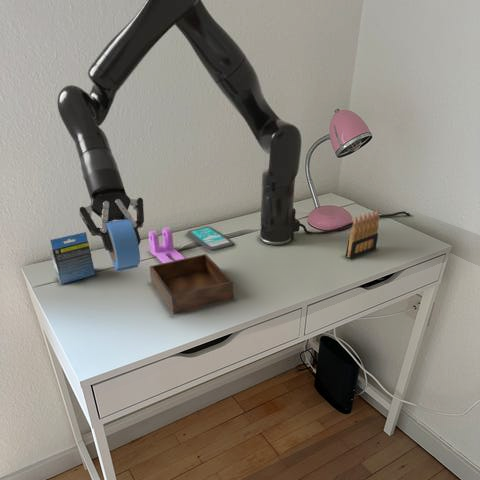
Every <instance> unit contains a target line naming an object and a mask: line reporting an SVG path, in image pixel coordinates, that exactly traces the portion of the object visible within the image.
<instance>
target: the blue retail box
mask: <svg viewBox="0 0 480 480" xmlns="http://www.w3.org/2000/svg"><path fill="white" fill-rule="evenodd" d="M69 240H70V242H68V241H69ZM72 240H74V241H72ZM65 242H66V243H65ZM50 245H51V248H52V249H50V255H51V259H52V263H53V267H54V270H55V275H56V278H57V280H58V282H59V283H60V284H61V285H65V284H68V283H71V282H75V281H78V280H81V279H85V278H87V277H90V276H94V275H96V272H95V267H94V261H93V258H92V253H91V248H90V243H89V240H88V235H87V232H86V231H84V232H80V233H76V234H70V235H67V236H63V237H57V238H52V239H50Z"/></svg>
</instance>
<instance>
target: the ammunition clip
mask: <svg viewBox="0 0 480 480" xmlns="http://www.w3.org/2000/svg"><path fill="white" fill-rule="evenodd" d="M379 215H380V209H377V210H376V212H375V210H373V211H372V213H371V212H368V213H367V214H366V213H364V215H363V216H362V215H361V214H360V215H359V217H357V216H355V217H354V218H353V221H352V222H353V225H351V226H352V227H351V229H350V236H349V239H348V240H347V246H346V251H345V258H347V259H349V260H353V259H356V258H358V257H361V256H363V255H365V254H368V253H370V252H374V251H376V250H377V244H378V237H379V233H378V232H379V231H378V230H379V224H380V223H379V221H380V217H379ZM366 217H367V218H366ZM357 220H358V222H357Z"/></svg>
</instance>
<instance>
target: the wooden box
mask: <svg viewBox="0 0 480 480" xmlns="http://www.w3.org/2000/svg"><path fill="white" fill-rule="evenodd" d="M184 258H185V259H181V260H172V261H171V262H167V263H163V262H162V263H159V264H153V265H149V274H150V282H151V284H152V285H153V287H154V288H155V289H156V291H157V293H158V294H159V296H160V297H161V298H162V300H163V302H164V303H165V304H166V306H168V309H169V310H170V311H171V313H172V314H173V315H176V314H179V313H183V312H186V311H191V310H194V309H199V308H202V307H205V306H209V305H213V304H218V303H221V302H225V301H229V300H231V299H234V281H233V280H232V279H231V278H230V277H229V276H228V275H227V274H226V273H225V272H224V271H223V269H221V267H219V266H218V265H217V263H215V262H214V260H212V259H211V258H210V256H209V255H208V254H207V253H203V254H199V255H195V256H190V257H184Z"/></svg>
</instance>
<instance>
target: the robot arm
mask: <svg viewBox="0 0 480 480" xmlns="http://www.w3.org/2000/svg"><path fill="white" fill-rule="evenodd" d="M174 26H175V27H176V28H177V29H178V30H179V32H181V34H182V35H183V36H184V38H185V39H186V40H187V41H188V43H189V45H190V46H191V48H192V50H193V52H194V53H195V55H196V57H197V58H198V60H199V62H200V63H201V64H202V65H203V68H204V69H205V70H206V72H207V73H208V75H209V76H210V78H211V80H212V81H213V82H214V83H215V85H216V86H217V88H218V89H219V90H220V91H221V93H222V94H223V96H224V97H225V98H226V99H227V101H228V102H229V103H230V104H231V106H233V108H234V109H235V110H236V112H237V113H238V114H239V115H240V116H241V117H242V118H243V120H244V121H245V123H246V124H247V126H248V127H249V129H250V131H251V133H252V134H253V136H254V138H255V140H256V141H257V143H258V145H259V147H260V148H261V149H262V151H263V152H264V153H266V154H267V155H269V161H268V168H267V169H265V170H263V172H262V174H261V195H260V196H261V198H260V200H261V202H260V203H261V204H260V223H259V228H260V229H259V230H260V231H259V240H260V241H261V242H262V243H264V244H266V245H270V246H283V245H287V244H289V243H290V242H291V241H293V240H294V238H295V233H297V232H300V228H303V232H304V233H305V234H308V235H324V234H330V233H334V232H338V231H341V230H344V229H345V228H348V227H350V226H353V222H354V221H352V222H349V223H347V224H344V225H342V226H339V227H336V228H332V229H328V230H323V231H317V232H315V231H309V230H307V227H306V225H304V224H303V223H301V221H300V220H299V219H297V218H296V211H297V209H296V208H294V198H295V186H296V185H295V184H296V177H297V176H298V173H299V169H300V161H301V155H302V154H301V153H302V133H301V131H300V129H299V128H298V127H297V126H296V125H294V124H292V123H290V122H288V121H285V120H283V119H281V118H280V117H279V116H278V115H277V113H276V112H275V111H274V110H273V108H272V107H271V105H270V104H269V103H268V102H267V100H266V98H265V96H264V94H263V90H262V85H261V83H260V79H259V76H258V74H257V72H256V70H255V68H254V66H253V64H252V63H251V62H250V60H249V59H248V57H247V55H246V54H245V53H244V51H243V49H242V48H241V47H240V46H239V44H238V43H237V42H236V41H235V40H234V39H233V37H231V35H230V34H229V33H228V32H227V30H225V29H224V28H223V27H222V26H221V25H220V24H219V23H218V22H217V21H216V19H215V18H213V16H212V15H211V13H210V12H209V11H208V9H207V7H206V6H205V4H204V3H203V1H202V0H145V2H144V3H143V5H142V6H141V7H140V9H139V10H138V12H137V13H136V14H135V16H134V17H133V18H132V19H131V20H130V21H129V22H128V23H127V24H126V25H125V26H124V27H123V28H122V29H121V30H119V32H118V33H117V34H116V35H115V36H113V38H111V40H110V41H108V42H107V44H106V45H105V46H104V48H103V49H102V51H101V52H100V53H99V54H98V55H97V57H96V58H95V59H94V61H93V62H92V64H91V65H90V67H89V68H88V71H87V76H88V78H89V80H90V81H91V83H92V87H91V90H90V92H89V93H88V92H86V90H84V89H83V88H81V87H79V86H77V85H74V84H69V85H66V86H64V87H62V89H60V91H59V93H58V95H57V102H56V105H57V110H58V114H59V116H60V118H61V120H62V123H63V124H64V127H65V129H66V130H67V132H68V134H69V135H70V137H71V139H72V140H73V142H74V144H75V148H76V151H77V155H78V158H79V162H80V169H81V172H82V177H83V180H84V182H85V185H86V189H87V192H88V195H89V199H90V205H89V206H86V207H85V206H80V207H79V216H80V218H81V220H82V221H83V223H84V224H85V226H86V228H87V230H88V232H89V233H90V234H91V236H93V237H96V236H98V237H100V238H101V240H102V243H103V247H104V249H105V250H106V251H108V250H109V251H108V253H109V252H110V253H111V252H113V246H112V243H111V239H110V236H109V233H107V226H106V223H108V222H113V221H118V220H124V219H129V220H130V222H131V223H132V225H133V228H134V231H135V234H136V237H137V241H138V246H139V247H140V245H141V241H142V239H141V236H140V233H139V229H141V228H143V226H144V223H145V212H144V199H143V198H142V197H138V198H137V199H133V198H130V197H129V196H128V195H127V192H126V190H125V186H124V182H123V180H122V177H121V174H120V170H119V167H118V164H117V161H116V159H115V157H114V154H113V152H112V149H111V146H110V142H109V139H108V137H107V134H106V133H105V131H104V130H103V129H102V128H101V127H100V126H102V125H103V123H104V122H105V120H106V118H107V116H108V114H109V112H110V110H111V108H112V105H113V103H114V100H115V98H116V95H117V93H118V92H119V90H120V89H121V88H122V87H123V85H124V84H125V83H126V82H127V80H129V78H130V77H131V75H132V74H133V73H134V71H135V70H136V69H137V68H138V66H139V65H140V64H141V62H142V61H143V60H144V59H145V58H146V56H147V55H148V54H149V52H150V51H151V50H152V49H153V48H154V46H155V45H157V43H158V42H159V41H160V40H161V39H162V38H163V37H164V36H165V35H166V34H167V33H168V31H170V30H171V29H172V28H173V27H174ZM130 206H131V207H132V209H133V210H134V211H136V220H134V218H133V217H132V214H131V213H130V212H129V208H130ZM92 212H93V213H94V214H96V215H97V216H98V217H99V218H100V219H101V224H100V227H97V225H96V224H95V222H94V220H93V218H92V216H93V215H92ZM406 212H407V211H397V212H394V213H387V214H379V218H386V217H387V218H388V217H394V216H399V215H406V216H408V217H411V213H409V212H408V213H406ZM366 218H367V216H366ZM357 222H358V219H357Z"/></svg>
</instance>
